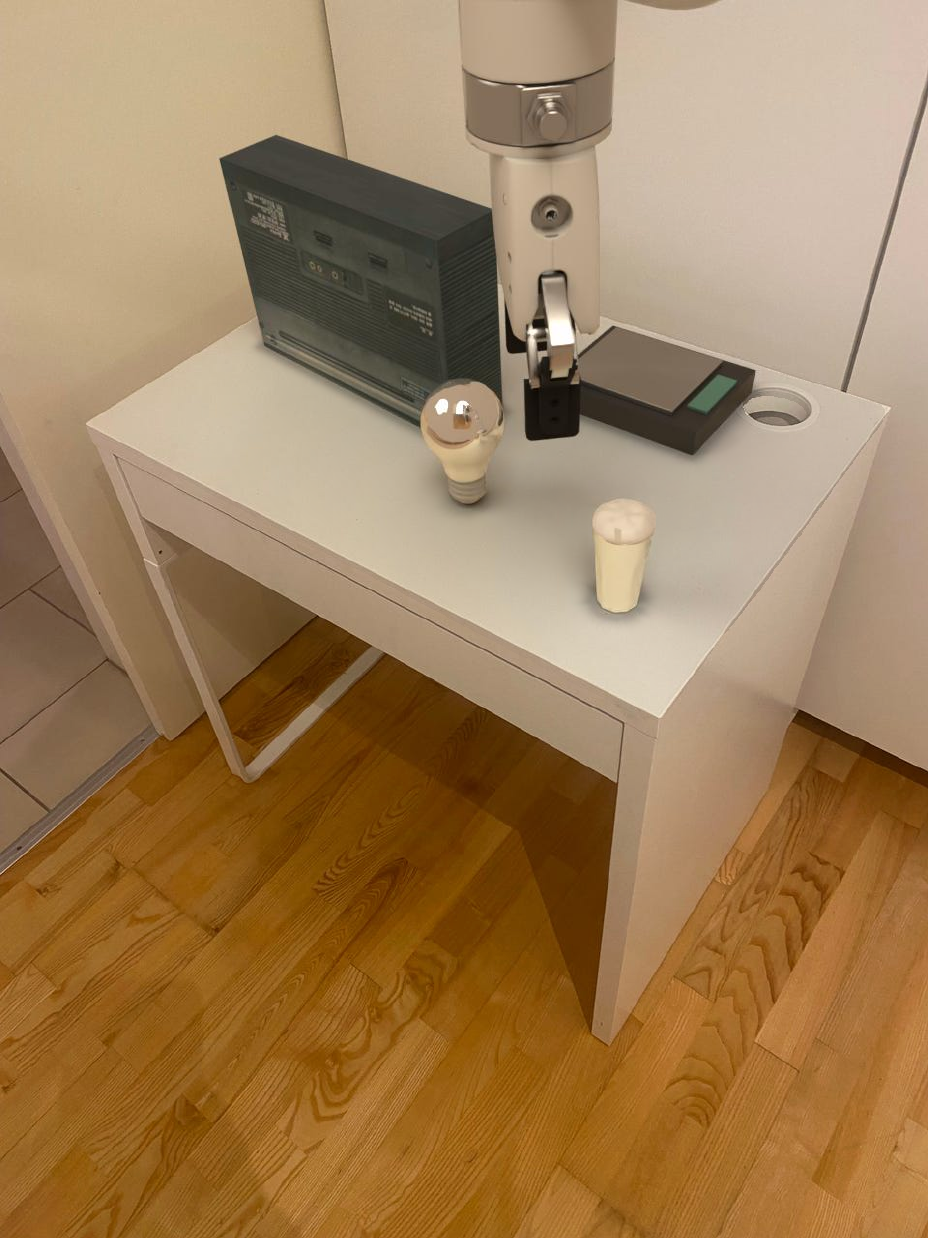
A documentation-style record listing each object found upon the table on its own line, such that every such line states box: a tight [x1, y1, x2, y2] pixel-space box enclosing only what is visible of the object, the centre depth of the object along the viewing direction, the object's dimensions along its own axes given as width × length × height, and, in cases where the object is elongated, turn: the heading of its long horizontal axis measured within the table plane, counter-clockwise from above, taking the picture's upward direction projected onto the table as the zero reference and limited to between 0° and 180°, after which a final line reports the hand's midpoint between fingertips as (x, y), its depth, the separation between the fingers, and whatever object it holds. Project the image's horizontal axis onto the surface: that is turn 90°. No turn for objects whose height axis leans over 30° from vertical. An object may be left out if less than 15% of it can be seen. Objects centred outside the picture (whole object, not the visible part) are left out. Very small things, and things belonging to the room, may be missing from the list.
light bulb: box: [420, 378, 505, 505], centre depth 81 cm, size 7×7×12 cm
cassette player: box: [218, 134, 504, 429], centre depth 93 cm, size 29×7×20 cm, turn 46°
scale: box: [578, 325, 757, 456], centre depth 93 cm, size 16×12×3 cm
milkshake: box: [591, 497, 656, 614], centre depth 72 cm, size 5×5×10 cm
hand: (540, 390), depth 61 cm, fingers open, 9 cm apart
